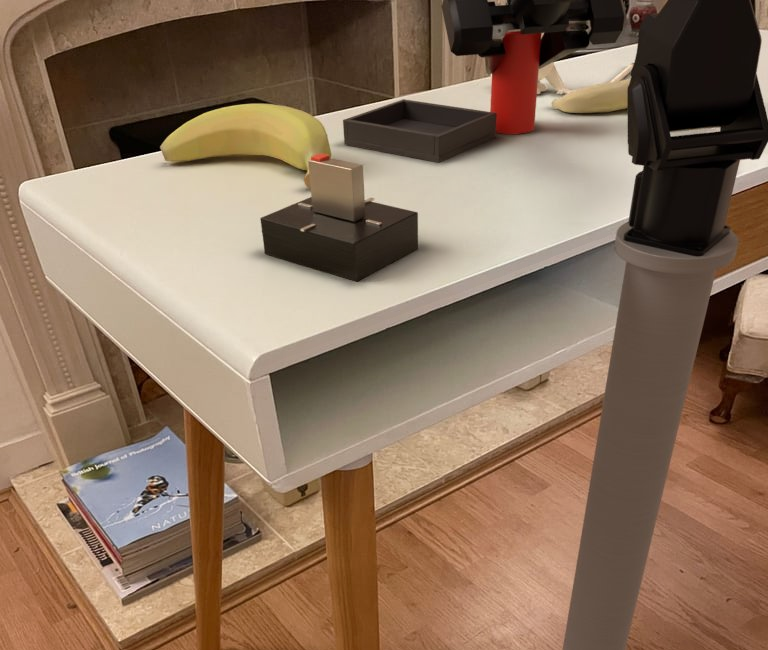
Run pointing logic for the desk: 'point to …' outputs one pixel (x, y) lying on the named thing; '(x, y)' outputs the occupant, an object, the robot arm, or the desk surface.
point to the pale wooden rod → (623, 73)
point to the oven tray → (420, 129)
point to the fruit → (595, 98)
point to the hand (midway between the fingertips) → (511, 68)
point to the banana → (250, 135)
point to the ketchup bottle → (516, 84)
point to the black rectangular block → (340, 238)
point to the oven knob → (337, 187)
